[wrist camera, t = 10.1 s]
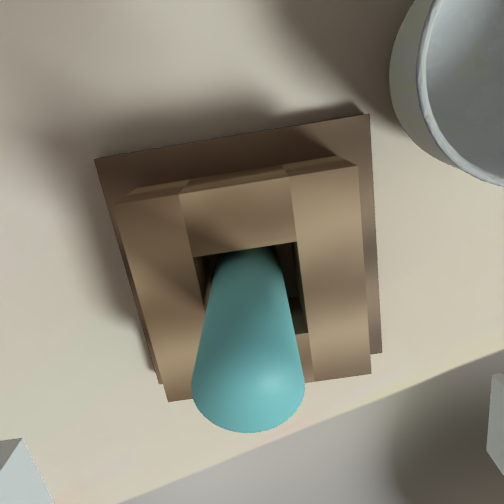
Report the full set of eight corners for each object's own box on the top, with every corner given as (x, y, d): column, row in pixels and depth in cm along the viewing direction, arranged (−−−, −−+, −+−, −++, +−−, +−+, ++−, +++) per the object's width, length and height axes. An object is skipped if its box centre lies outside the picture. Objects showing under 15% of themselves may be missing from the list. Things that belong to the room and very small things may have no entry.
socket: (100, 157, 24) (59, 170, 19) (364, 113, 23) (398, 114, 18) (161, 375, 29) (143, 432, 24) (377, 344, 28) (407, 396, 23)
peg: (211, 237, 24) (180, 347, 13) (275, 228, 24) (298, 332, 13) (222, 295, 26) (202, 438, 15) (283, 286, 26) (309, 425, 14)
